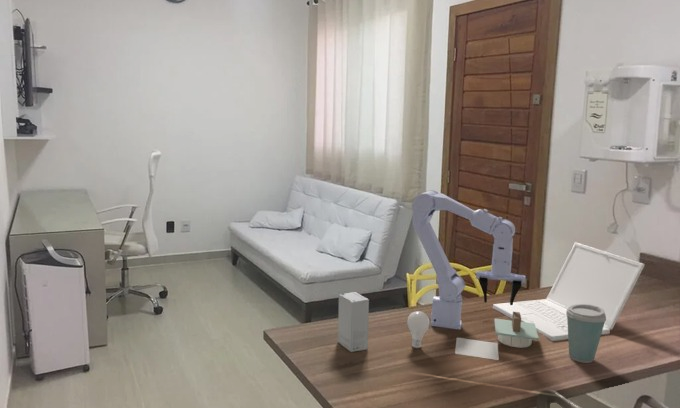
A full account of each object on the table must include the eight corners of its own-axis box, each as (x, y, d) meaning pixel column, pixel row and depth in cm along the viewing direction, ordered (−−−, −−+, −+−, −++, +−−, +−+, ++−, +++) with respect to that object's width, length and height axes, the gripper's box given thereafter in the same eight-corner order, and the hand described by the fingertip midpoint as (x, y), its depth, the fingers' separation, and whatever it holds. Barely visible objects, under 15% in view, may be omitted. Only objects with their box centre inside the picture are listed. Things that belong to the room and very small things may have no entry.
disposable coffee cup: (580, 368, 156) (587, 316, 154) (552, 352, 166) (558, 303, 163) (608, 363, 160) (616, 313, 158) (579, 348, 170) (585, 300, 168)
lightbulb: (429, 345, 166) (432, 310, 164) (425, 354, 160) (428, 317, 158) (407, 341, 168) (410, 306, 166) (403, 350, 162) (405, 313, 160)
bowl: (498, 346, 169) (499, 333, 168) (497, 333, 178) (498, 321, 177) (532, 350, 166) (533, 337, 166) (529, 338, 176) (530, 326, 175)
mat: (454, 355, 161) (454, 353, 160) (456, 339, 172) (456, 337, 172) (498, 361, 158) (498, 360, 158) (497, 344, 169) (497, 343, 169)
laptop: (492, 308, 202) (498, 245, 198) (568, 301, 215) (576, 241, 211) (552, 342, 174) (560, 270, 170) (635, 331, 187) (645, 263, 184)
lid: (495, 334, 167) (497, 319, 166) (494, 320, 178) (495, 306, 178) (538, 340, 164) (540, 325, 163) (534, 325, 176) (536, 311, 175)
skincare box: (368, 349, 161) (371, 299, 159) (349, 353, 158) (352, 302, 156) (353, 338, 168) (356, 290, 166) (335, 341, 165) (338, 292, 163)
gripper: (477, 261, 171) (474, 304, 173) (527, 265, 168) (523, 309, 170) (477, 255, 178) (474, 297, 180) (525, 259, 174) (522, 302, 177)
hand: (498, 302), depth 175 cm, fingers open, 7 cm apart
